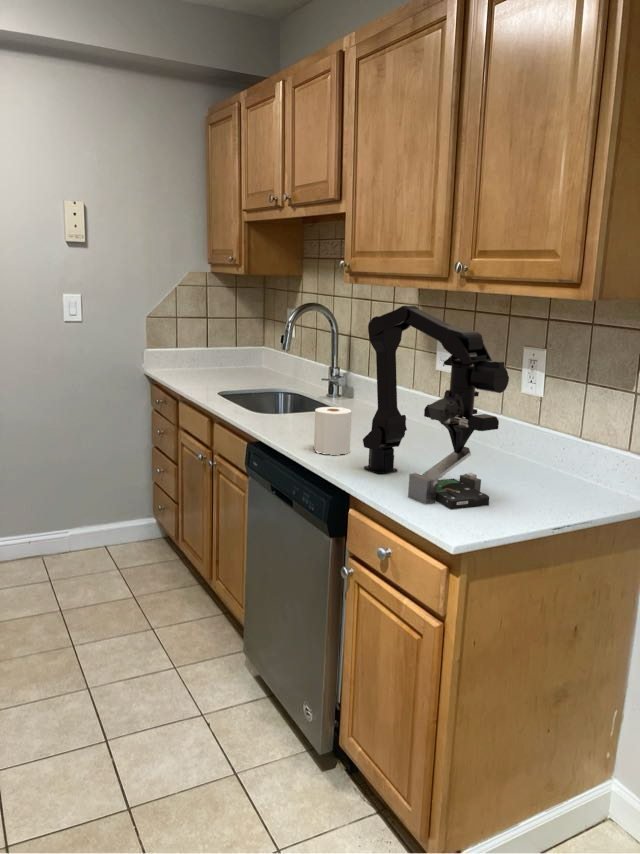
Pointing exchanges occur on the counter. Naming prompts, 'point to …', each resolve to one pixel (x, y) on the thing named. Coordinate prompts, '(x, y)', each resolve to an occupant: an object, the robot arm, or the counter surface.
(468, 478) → the lug
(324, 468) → the counter surface
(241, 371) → the counter surface
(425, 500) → the hinge bracket
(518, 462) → the counter surface
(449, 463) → the grey long flat bar
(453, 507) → the disk drive
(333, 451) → the toilet paper
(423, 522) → the counter surface
